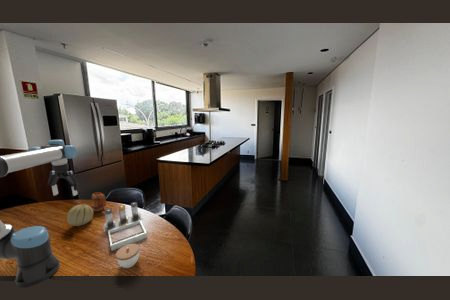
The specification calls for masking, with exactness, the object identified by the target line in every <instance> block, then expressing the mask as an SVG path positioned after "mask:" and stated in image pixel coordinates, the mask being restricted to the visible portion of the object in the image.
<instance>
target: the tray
mask: <svg viewBox="0 0 450 300" xmlns="http://www.w3.org/2000/svg"><path fill="white" fill-rule="evenodd" d="M137 225H140V227H141V229H142V231H140V232H138V233H135V234H133V235H130V236H127V237H124V238H121V239H118V240H115V241H113V242H112V237H111V236H112V235H111V234H112V233H113V234H114V233H115V232H118V231H121V230H124V229H128V228H131V227H133V226H137ZM107 233H108V240H109V245H110V251H111V252H112V251H115V250H119V249H120V248H121V247H123V246H125V245H128V244H135V243H136V242H139V241H142V240H144V239H146V238H148V233H147V230H146V229H145V226H144V225H143V222H142V220H139V221H136V222H133V223H130V224H126V225H123V226H120V227H117V228H114V229H111V230H108V231H107Z"/></svg>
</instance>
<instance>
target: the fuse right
mask: <svg viewBox="0 0 450 300" xmlns="http://www.w3.org/2000/svg"><path fill="white" fill-rule="evenodd" d="M130 208H131V216H132V218H133V220H134V219H136V218H139V217H138V213H139V212H138V211H139V209H138V202H137V201H133V202H131V203H130Z"/></svg>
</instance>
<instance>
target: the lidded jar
mask: <svg viewBox="0 0 450 300" xmlns="http://www.w3.org/2000/svg"><path fill="white" fill-rule="evenodd" d="M115 256H116V257H115V258H116V262H117V264H118V265H119V266H120V267H121V268H123V269H131V268H132V267H134V266H135V264H136V263H137V262H138V260H139V258H140V246H139V245H138V244H136V243H131V244H128V245H125V246H123V247H121V248H118V249H117V251H116V254H115Z"/></svg>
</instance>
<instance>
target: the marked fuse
mask: <svg viewBox="0 0 450 300" xmlns="http://www.w3.org/2000/svg"><path fill="white" fill-rule="evenodd" d="M117 209H118V215H119V216H118V217H119V220H120V223H123V222H127V221H126V217H127V214H126V207H125V205H124V204H123V205H119V206H118V207H117Z"/></svg>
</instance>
